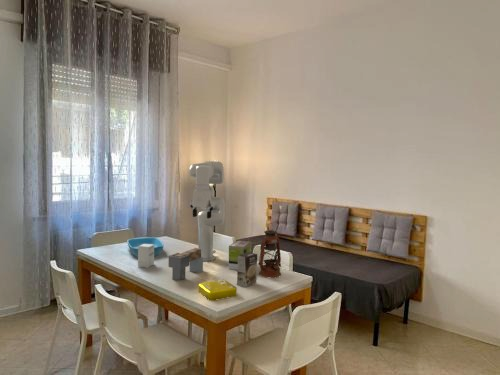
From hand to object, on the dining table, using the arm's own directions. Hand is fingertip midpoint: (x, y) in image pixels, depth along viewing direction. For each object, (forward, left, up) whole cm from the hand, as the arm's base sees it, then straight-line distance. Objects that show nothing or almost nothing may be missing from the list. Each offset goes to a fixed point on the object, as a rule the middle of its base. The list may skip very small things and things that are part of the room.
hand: (201, 217), depth 211 cm
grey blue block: (-1, -4, -32) cm, 33 cm away
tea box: (-22, +14, -33) cm, 42 cm away
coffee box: (+4, +32, -32) cm, 46 cm away
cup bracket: (+15, -4, -32) cm, 36 cm away
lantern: (-18, +36, -32) cm, 52 cm away
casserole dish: (-19, -59, -33) cm, 70 cm away
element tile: (+23, +26, -33) cm, 48 cm away
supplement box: (+6, -36, -32) cm, 49 cm away
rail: (+7, -4, -24) cm, 26 cm away
